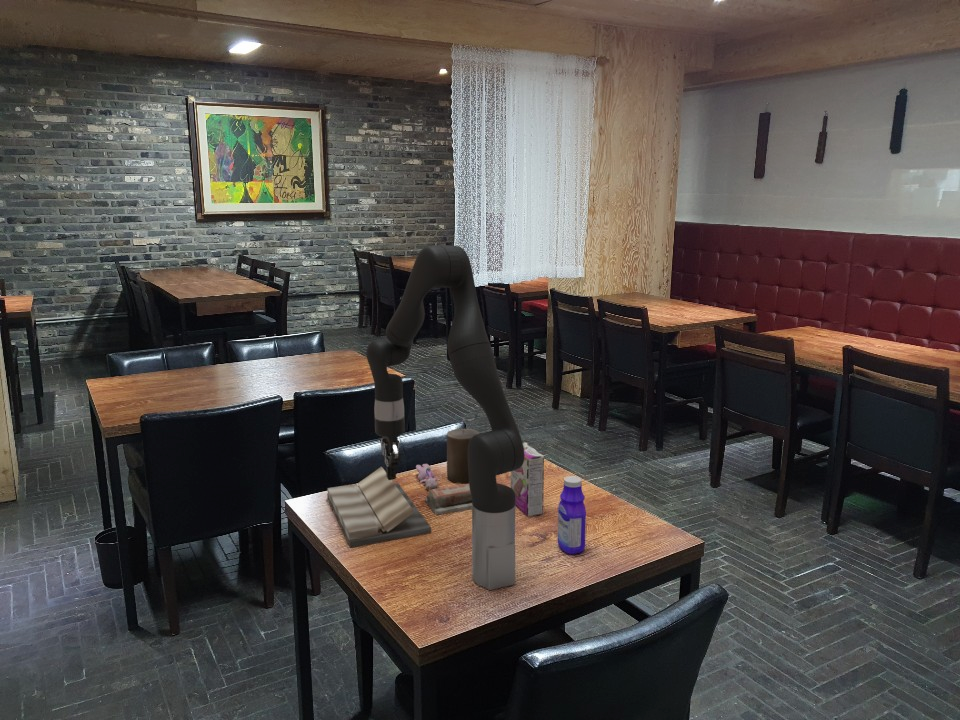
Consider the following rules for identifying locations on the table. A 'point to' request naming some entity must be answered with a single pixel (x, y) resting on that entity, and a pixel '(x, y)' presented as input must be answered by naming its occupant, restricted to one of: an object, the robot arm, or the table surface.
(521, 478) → the candy bar box
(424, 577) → the table surface
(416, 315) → the robot arm
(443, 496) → the packaged product
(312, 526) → the table surface
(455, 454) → the pillar candle
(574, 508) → the bottle
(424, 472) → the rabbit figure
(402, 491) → the floor section
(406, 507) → the loose plank
